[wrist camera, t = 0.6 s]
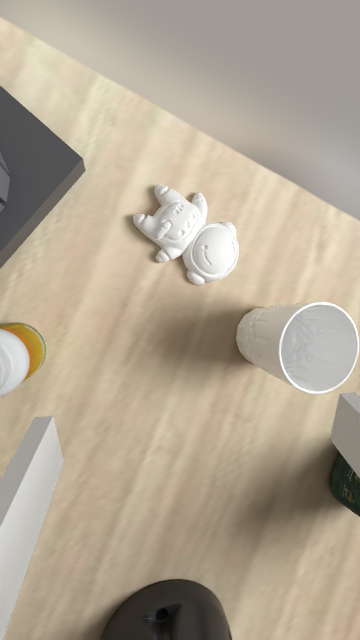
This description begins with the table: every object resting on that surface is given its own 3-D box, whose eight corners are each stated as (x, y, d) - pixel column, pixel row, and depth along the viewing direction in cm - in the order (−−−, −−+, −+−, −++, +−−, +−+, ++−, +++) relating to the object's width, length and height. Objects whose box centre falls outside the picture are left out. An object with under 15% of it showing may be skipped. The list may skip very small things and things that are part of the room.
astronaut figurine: (172, 170, 31) (178, 156, 28) (249, 246, 34) (262, 240, 31) (120, 229, 30) (120, 221, 27) (203, 303, 33) (211, 303, 30)
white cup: (217, 335, 33) (260, 349, 23) (263, 288, 34) (323, 282, 24) (260, 382, 34) (317, 413, 25) (302, 335, 35) (374, 347, 26)
